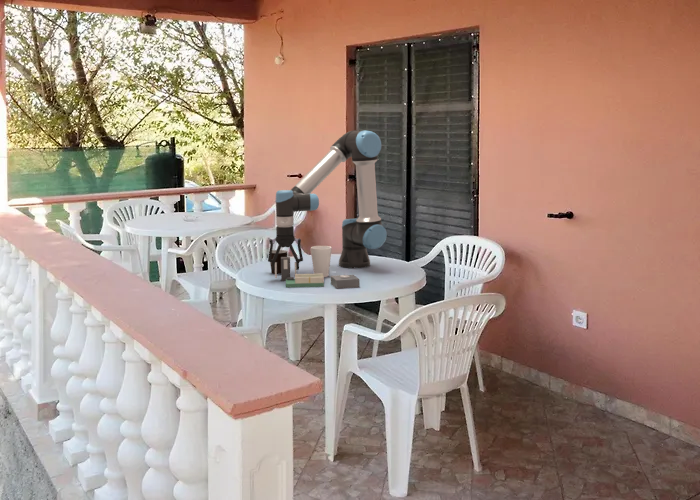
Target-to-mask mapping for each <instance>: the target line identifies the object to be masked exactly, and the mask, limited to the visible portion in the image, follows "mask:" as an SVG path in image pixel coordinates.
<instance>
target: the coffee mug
mask: <svg viewBox="0 0 700 500" xmlns="http://www.w3.org/2000/svg"><path fill="white" fill-rule="evenodd" d="M276 250H277V249H274V250H273V249H272V255H271V259H273V258H274V255H275V253H276ZM281 257H288V250H284V249H280V251H279V254H278V256H277V258H276V261H275V262H277V275H281ZM269 264H270V270H271V274H272V275H275V270H272V263H271V262H269Z"/></svg>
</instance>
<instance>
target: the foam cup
mask: <svg viewBox="0 0 700 500" xmlns="http://www.w3.org/2000/svg"><path fill="white" fill-rule="evenodd" d="M332 252H333V249H332V246H330V245H329V246H328V245H314V246H311V247H310V254H311V260H312V269H313V274H323V277H324V278H326V277H329V275H330V267H331V257H332Z"/></svg>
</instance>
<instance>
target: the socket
mask: <svg viewBox="0 0 700 500" xmlns="http://www.w3.org/2000/svg"><path fill="white" fill-rule="evenodd" d="M294 279H295V283H324V284H325V281H324V279H325V277H323V274H314V273H297V274H295V273H294Z"/></svg>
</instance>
